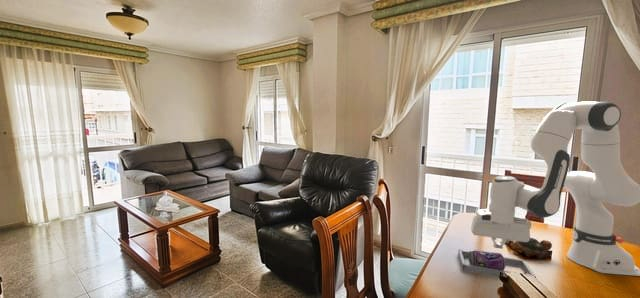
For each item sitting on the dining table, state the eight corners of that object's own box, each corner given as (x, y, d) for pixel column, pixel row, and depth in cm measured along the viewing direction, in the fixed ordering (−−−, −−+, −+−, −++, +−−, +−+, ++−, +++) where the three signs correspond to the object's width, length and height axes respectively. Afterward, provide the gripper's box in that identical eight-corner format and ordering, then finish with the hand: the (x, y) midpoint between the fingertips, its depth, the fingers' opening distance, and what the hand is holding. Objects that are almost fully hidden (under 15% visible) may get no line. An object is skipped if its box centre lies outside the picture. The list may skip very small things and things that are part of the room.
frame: (523, 265, 115) (523, 259, 115) (535, 283, 103) (536, 277, 103) (458, 254, 124) (458, 249, 123) (462, 270, 112) (462, 264, 111)
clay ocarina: (556, 262, 117) (557, 245, 116) (515, 259, 122) (516, 243, 120) (545, 250, 126) (546, 234, 125) (507, 248, 131) (508, 232, 129)
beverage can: (508, 266, 106) (474, 262, 109) (503, 275, 110) (470, 270, 113) (502, 250, 111) (470, 246, 114) (498, 259, 116) (467, 255, 119)
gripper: (528, 216, 109) (525, 248, 111) (471, 209, 116) (469, 240, 118) (534, 222, 103) (530, 256, 105) (474, 215, 110) (471, 246, 112)
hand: (497, 247), depth 112 cm, fingers closed
